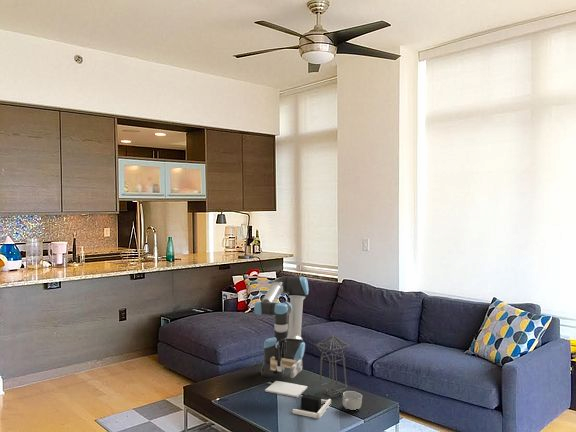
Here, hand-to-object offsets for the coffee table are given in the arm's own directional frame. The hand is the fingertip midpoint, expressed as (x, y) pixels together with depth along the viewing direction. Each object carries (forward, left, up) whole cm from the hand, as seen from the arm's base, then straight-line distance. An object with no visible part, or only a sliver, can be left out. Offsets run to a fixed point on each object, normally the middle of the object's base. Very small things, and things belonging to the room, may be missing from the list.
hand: (280, 370), depth 281 cm
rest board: (-11, -1, -16) cm, 19 cm away
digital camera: (+8, +22, -16) cm, 29 cm away
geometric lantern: (-17, +26, -16) cm, 35 cm away
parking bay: (+7, +22, -16) cm, 28 cm away
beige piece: (0, +2, 0) cm, 2 cm away
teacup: (-1, +42, -16) cm, 45 cm away
